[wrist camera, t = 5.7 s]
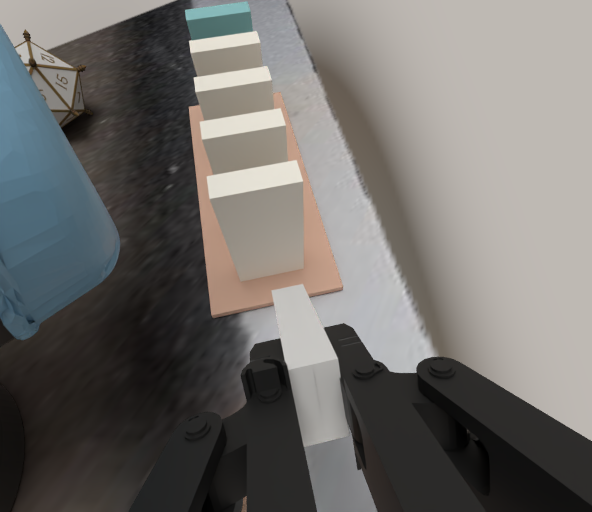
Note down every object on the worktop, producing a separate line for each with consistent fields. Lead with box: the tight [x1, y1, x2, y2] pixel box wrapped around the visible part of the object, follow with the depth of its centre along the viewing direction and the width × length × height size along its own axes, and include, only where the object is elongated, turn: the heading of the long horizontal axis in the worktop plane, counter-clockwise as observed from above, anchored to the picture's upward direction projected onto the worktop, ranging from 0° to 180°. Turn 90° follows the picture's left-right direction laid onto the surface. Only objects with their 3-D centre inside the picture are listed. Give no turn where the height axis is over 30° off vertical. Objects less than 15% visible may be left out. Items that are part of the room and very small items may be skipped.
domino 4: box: [200, 108, 288, 175], centre depth 25 cm, size 2×5×10 cm, turn 103°
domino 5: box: [207, 160, 304, 282], centre depth 23 cm, size 2×5×10 cm, turn 103°
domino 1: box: [185, 2, 253, 40], centre depth 32 cm, size 2×5×10 cm, turn 102°
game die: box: [14, 30, 93, 128], centre depth 34 cm, size 9×8×10 cm
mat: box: [189, 92, 343, 318], centre depth 32 cm, size 24×10×1 cm, turn 13°
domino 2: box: [189, 31, 263, 77], centre depth 30 cm, size 2×5×10 cm, turn 103°
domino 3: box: [194, 66, 274, 121], centre depth 27 cm, size 2×5×10 cm, turn 102°
